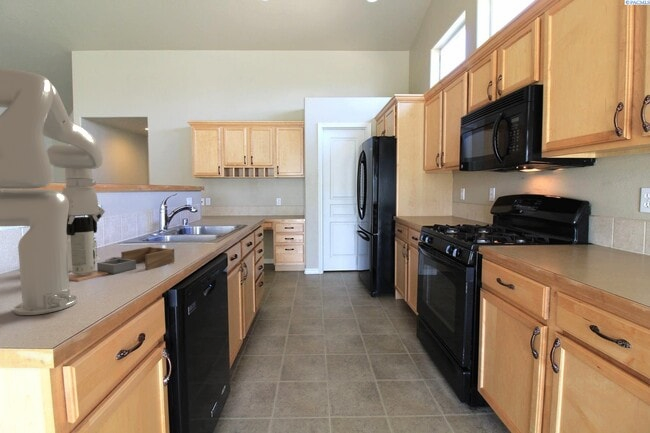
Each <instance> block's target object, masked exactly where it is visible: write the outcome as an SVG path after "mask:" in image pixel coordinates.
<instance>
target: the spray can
mask: <svg viewBox="0 0 650 433" xmlns="http://www.w3.org/2000/svg"><path fill="white" fill-rule="evenodd" d="M72 224H74V230H75V235H70V237H71V254H72V274H86V273H91V272H94V271H96V270H97V269H96V268H97V267H96V261H95V249H94V241H95V239H94V237H95V233H94V229H93V218H92V217H88V216H85V217H84V216H75V218H74V220H73V222H72Z"/></svg>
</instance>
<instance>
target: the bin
mask: <svg viewBox="0 0 650 433" xmlns="http://www.w3.org/2000/svg"><path fill="white" fill-rule="evenodd" d="M96 268H97V269H96V271H101V272H108V274H107V275H117V274H120V273H125V272H128V271H133V270H136V269H137V264H136V260H130V259H122V258H118V259H114V260H109V261H100V262H97V263H96Z"/></svg>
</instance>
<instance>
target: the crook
mask: <svg viewBox="0 0 650 433" xmlns="http://www.w3.org/2000/svg"><path fill="white" fill-rule="evenodd" d="M118 258H122V256H114V257H113V256H112V257H110V258H108V259H105V261H109V260H114V259H118Z"/></svg>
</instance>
